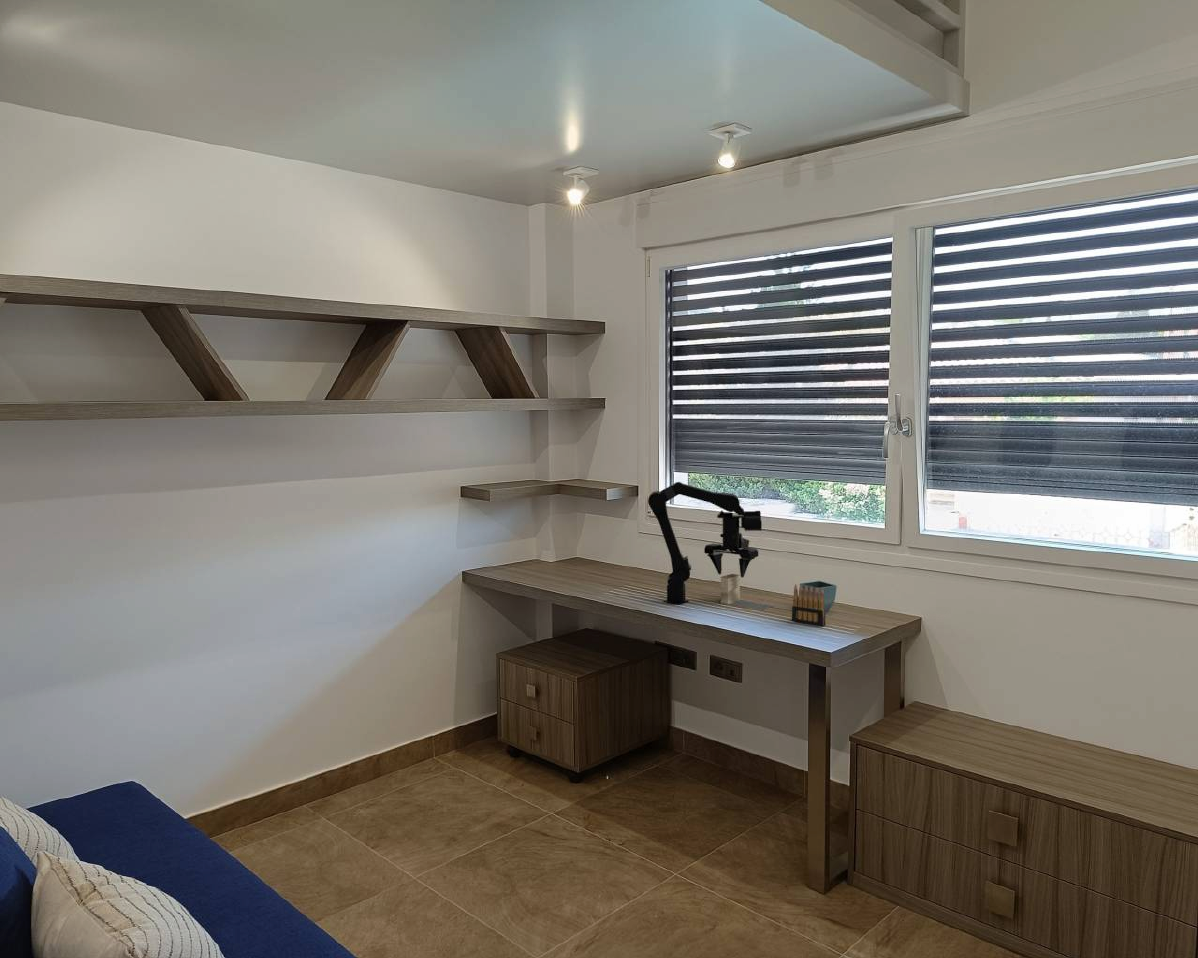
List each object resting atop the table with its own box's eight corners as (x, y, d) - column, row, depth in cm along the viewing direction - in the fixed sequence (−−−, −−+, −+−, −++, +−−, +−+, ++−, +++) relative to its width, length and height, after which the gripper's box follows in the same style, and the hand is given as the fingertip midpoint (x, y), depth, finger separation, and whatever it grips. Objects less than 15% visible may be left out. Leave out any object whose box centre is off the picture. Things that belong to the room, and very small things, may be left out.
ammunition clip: (791, 621, 288) (791, 584, 287) (794, 620, 290) (794, 583, 289) (822, 626, 282) (823, 588, 281) (825, 625, 283) (826, 587, 282)
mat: (761, 611, 303) (761, 610, 303) (716, 603, 315) (716, 602, 315) (774, 606, 309) (774, 605, 309) (729, 599, 321) (729, 598, 321)
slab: (728, 603, 312) (728, 577, 311) (720, 602, 314) (720, 576, 313) (739, 600, 317) (739, 574, 317) (732, 599, 319) (732, 573, 319)
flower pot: (816, 615, 296) (816, 588, 296) (798, 609, 304) (798, 583, 303) (837, 612, 300) (837, 585, 300) (819, 606, 308) (819, 580, 307)
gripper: (767, 530, 313) (767, 575, 315) (721, 525, 326) (721, 569, 327) (749, 534, 305) (749, 580, 306) (703, 529, 317) (703, 574, 319)
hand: (731, 575), depth 315 cm, fingers open, 9 cm apart
